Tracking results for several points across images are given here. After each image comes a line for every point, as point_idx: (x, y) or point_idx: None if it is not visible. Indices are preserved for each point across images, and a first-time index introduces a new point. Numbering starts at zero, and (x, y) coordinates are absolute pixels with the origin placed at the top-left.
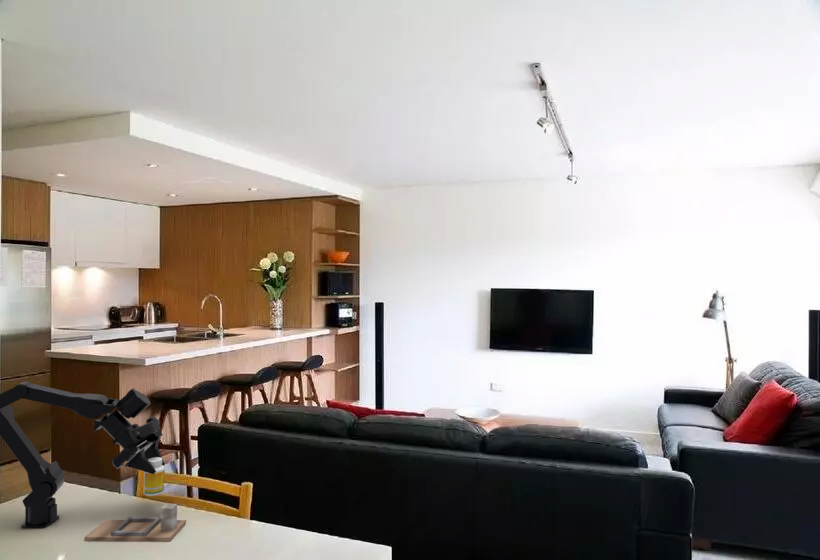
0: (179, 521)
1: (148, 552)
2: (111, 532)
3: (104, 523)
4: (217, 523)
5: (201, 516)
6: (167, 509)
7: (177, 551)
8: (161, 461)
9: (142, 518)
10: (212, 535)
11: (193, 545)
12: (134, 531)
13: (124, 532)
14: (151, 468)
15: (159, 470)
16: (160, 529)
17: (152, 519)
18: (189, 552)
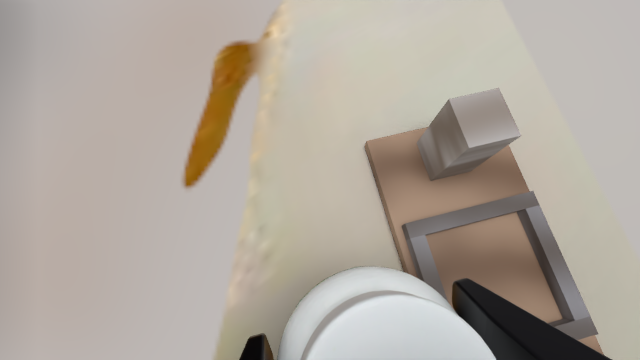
0: (383, 155)
1: (567, 136)
2: (596, 331)
3: None
4: (330, 54)
5: (296, 130)
6: (505, 109)
7: (522, 63)
8: (372, 293)
9: (443, 297)
10: (405, 28)
11: (476, 43)
12: (545, 240)
13: (569, 274)
14: (516, 312)
15: (407, 274)
16: (461, 180)
17: (428, 251)
18: (512, 32)
